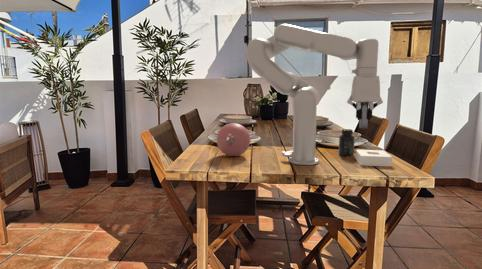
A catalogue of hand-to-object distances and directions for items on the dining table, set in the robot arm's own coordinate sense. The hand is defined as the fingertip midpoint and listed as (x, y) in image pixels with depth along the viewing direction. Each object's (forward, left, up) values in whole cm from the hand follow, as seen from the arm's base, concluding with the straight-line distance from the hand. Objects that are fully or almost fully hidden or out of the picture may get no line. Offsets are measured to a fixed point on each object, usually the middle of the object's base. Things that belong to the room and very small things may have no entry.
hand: (363, 119), depth 124 cm
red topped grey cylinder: (0, 0, -3) cm, 3 cm away
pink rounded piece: (-55, +7, -20) cm, 59 cm away
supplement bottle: (-3, +20, -20) cm, 28 cm away
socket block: (+6, +8, -19) cm, 22 cm away
